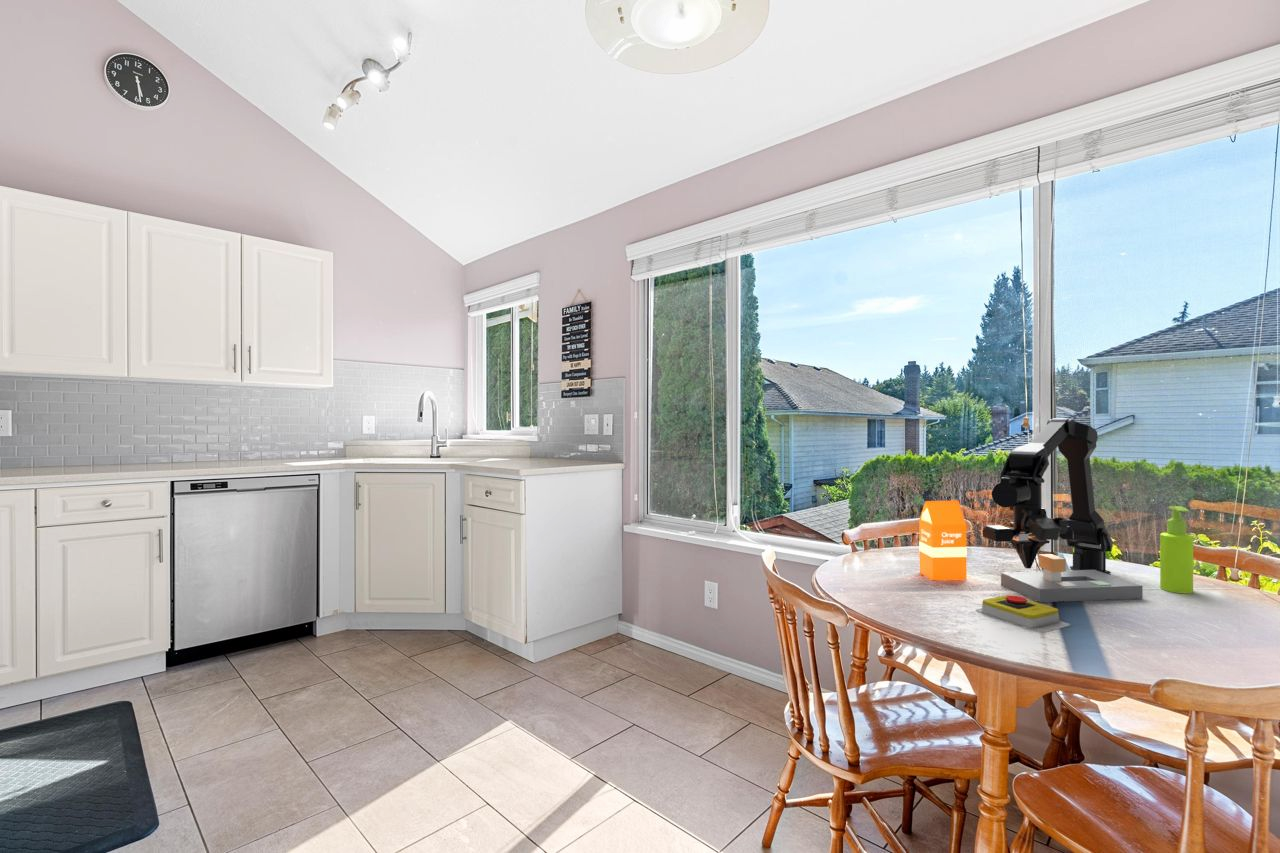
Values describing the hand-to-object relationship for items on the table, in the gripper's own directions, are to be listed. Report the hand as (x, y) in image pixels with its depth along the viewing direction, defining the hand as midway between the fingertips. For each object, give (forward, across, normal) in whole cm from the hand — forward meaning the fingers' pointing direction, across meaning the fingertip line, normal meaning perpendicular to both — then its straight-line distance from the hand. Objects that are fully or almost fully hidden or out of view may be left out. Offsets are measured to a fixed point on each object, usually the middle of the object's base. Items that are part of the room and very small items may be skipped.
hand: (1027, 568), depth 145 cm
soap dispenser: (+6, +35, -2) cm, 36 cm away
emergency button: (+6, -13, -16) cm, 21 cm away
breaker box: (+6, +10, 0) cm, 12 cm away
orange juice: (+6, -12, +16) cm, 21 cm away
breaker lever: (+5, +6, 0) cm, 7 cm away
